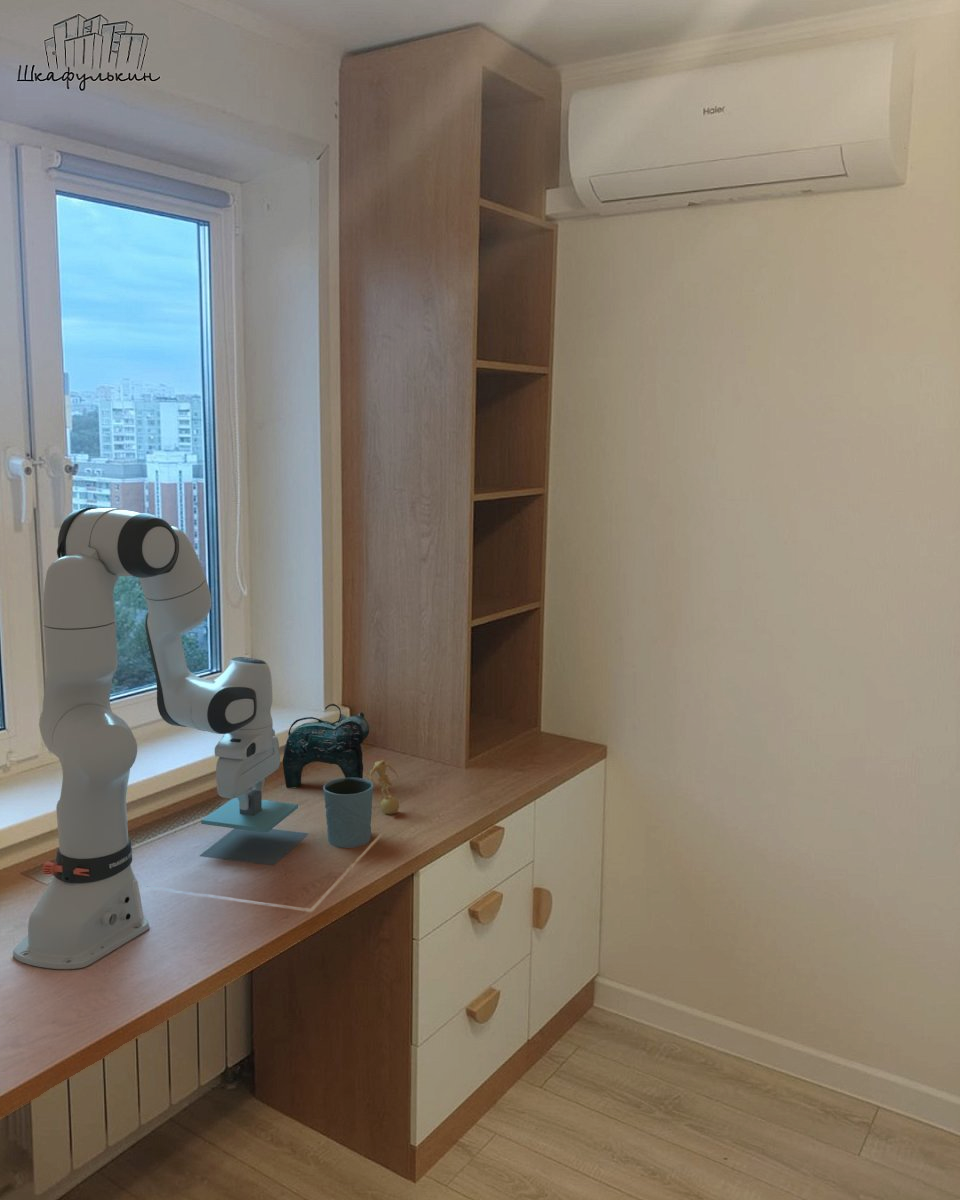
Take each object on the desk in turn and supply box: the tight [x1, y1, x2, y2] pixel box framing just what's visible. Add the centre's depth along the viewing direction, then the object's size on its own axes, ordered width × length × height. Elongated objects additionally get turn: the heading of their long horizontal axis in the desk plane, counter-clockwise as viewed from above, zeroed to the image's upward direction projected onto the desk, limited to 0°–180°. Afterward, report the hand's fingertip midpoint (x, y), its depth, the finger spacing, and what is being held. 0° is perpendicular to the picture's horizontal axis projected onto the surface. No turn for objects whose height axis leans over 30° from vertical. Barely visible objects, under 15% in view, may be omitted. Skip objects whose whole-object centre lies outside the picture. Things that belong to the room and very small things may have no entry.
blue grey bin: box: [322, 777, 374, 849], centre depth 217 cm, size 10×10×12 cm
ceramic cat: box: [282, 703, 370, 788], centre depth 247 cm, size 20×6×20 cm, turn 84°
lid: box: [200, 789, 299, 833], centre depth 213 cm, size 14×14×5 cm
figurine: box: [369, 759, 400, 816], centre depth 232 cm, size 8×6×12 cm
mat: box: [199, 828, 309, 867], centre depth 215 cm, size 16×16×1 cm
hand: (250, 804), depth 213 cm, fingers closed on lid, 3 cm apart
